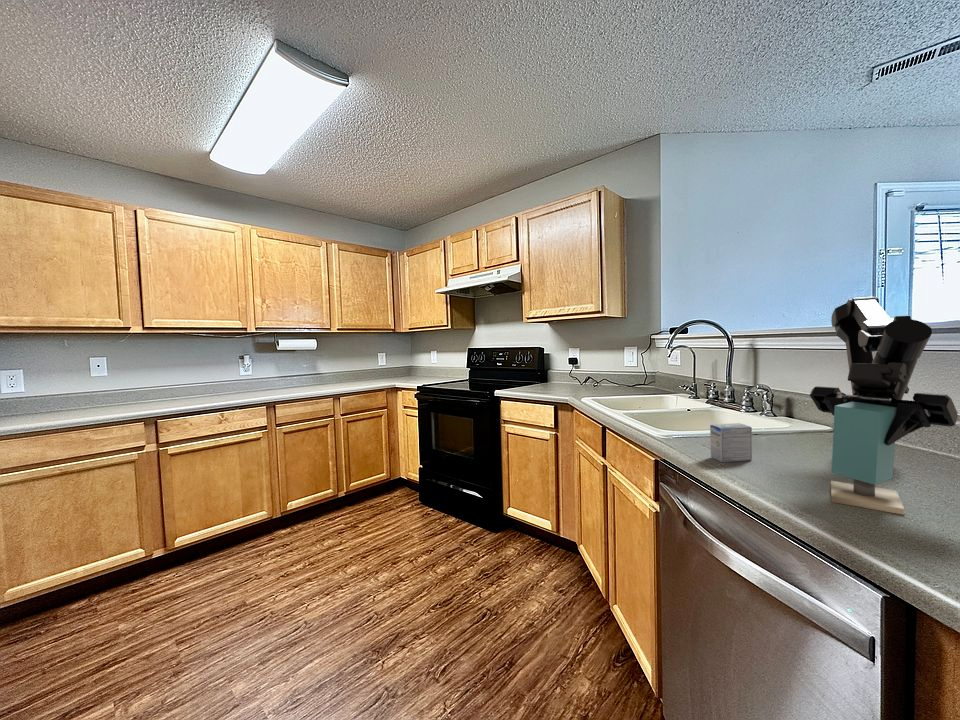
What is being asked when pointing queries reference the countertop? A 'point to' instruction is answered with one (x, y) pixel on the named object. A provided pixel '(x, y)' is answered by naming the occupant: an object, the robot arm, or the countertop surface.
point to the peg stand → (866, 496)
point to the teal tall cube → (863, 442)
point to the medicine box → (731, 442)
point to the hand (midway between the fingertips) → (861, 439)
